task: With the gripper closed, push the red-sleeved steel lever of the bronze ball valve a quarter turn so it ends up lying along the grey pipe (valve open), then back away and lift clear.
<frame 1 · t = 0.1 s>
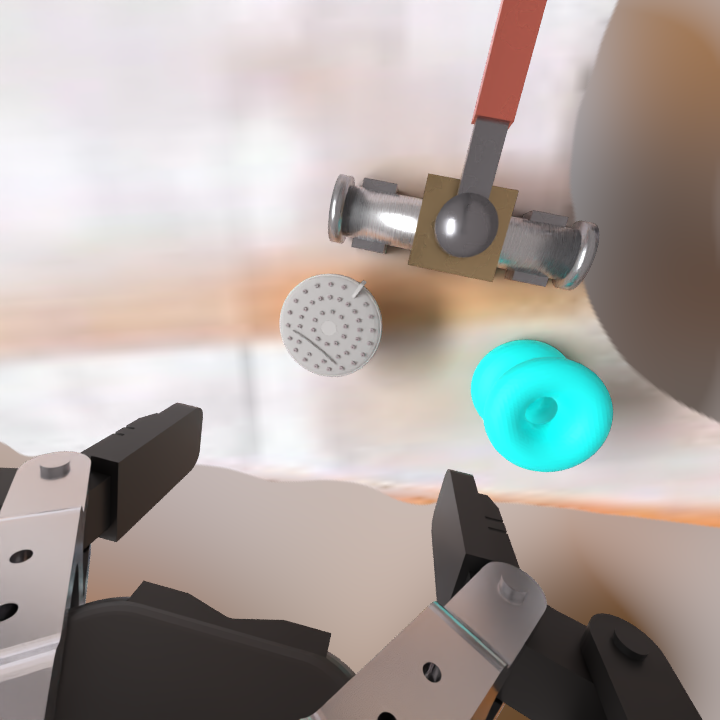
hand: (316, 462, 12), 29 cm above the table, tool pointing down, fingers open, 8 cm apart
donuts: (517, 383, 40), on the table
showerhead: (343, 315, 41), on the table
valve body: (451, 234, 37), on the table
lever: (489, 132, 27), point 9 cm above the table, hinge at 90.0°
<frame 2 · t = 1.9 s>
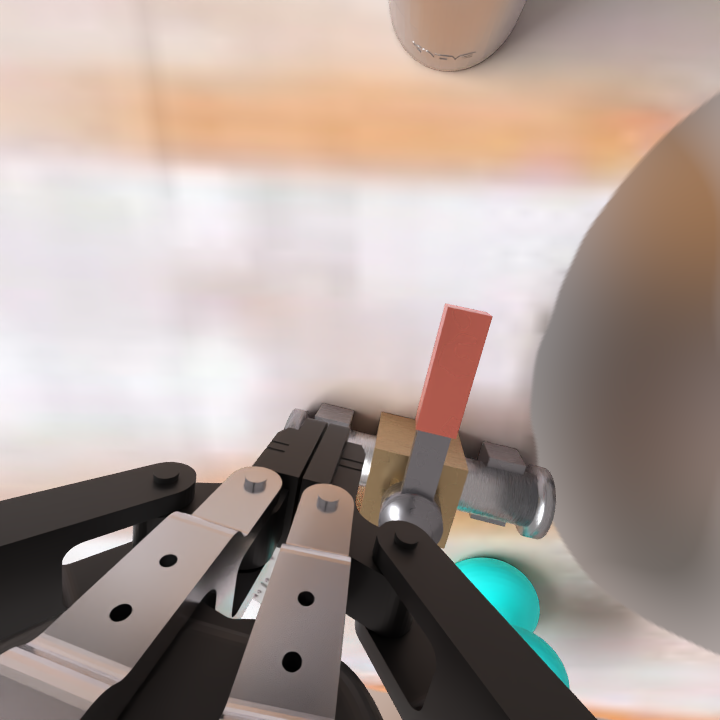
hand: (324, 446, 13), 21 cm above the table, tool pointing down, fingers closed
donuts: (481, 590, 39), on the table
showerhead: (302, 517, 39), on the table
valve body: (410, 454, 36), on the table
lever: (432, 436, 25), point 9 cm above the table, hinge at 90.0°
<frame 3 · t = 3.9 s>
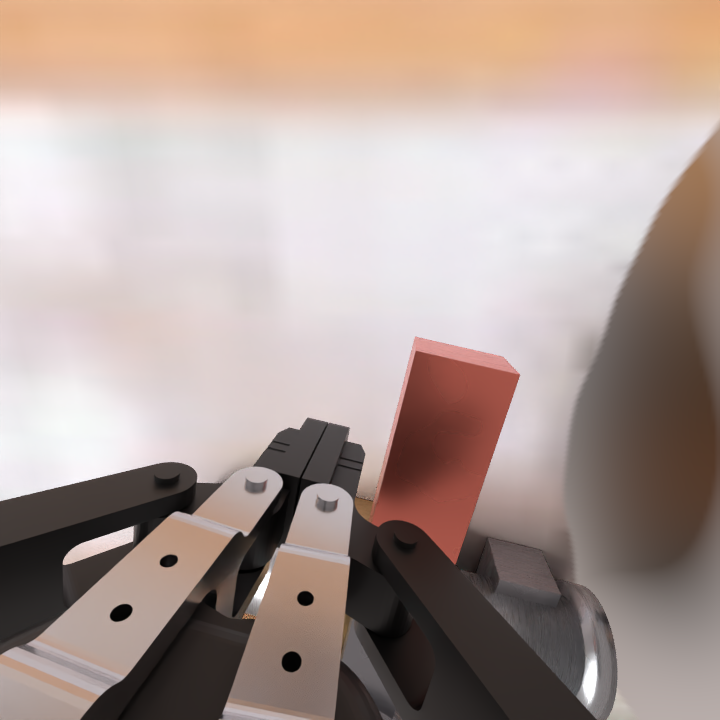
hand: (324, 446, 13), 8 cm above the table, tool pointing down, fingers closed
valve body: (374, 553, 23), on the table
lever: (391, 599, 13), point 9 cm above the table, hinge at 88.8°, touching gripper
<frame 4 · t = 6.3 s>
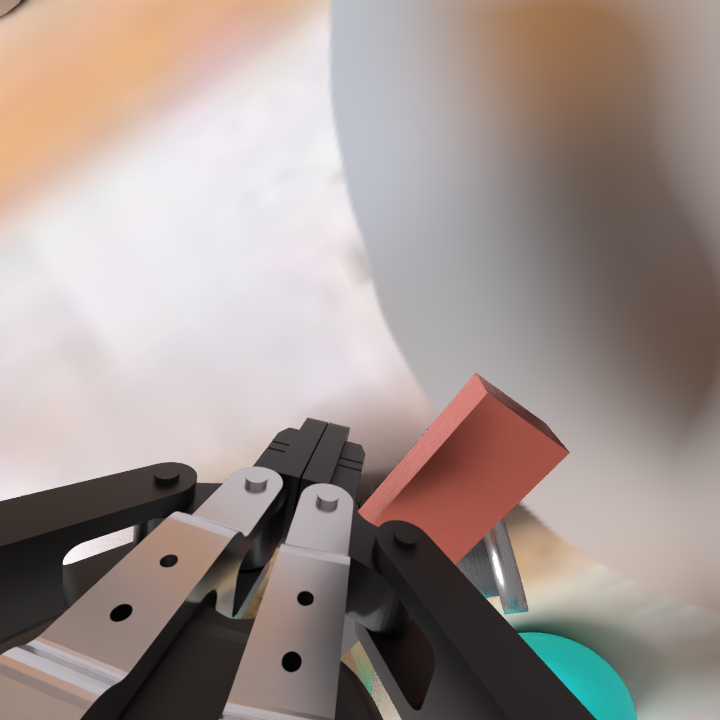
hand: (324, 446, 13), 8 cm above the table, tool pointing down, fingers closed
donuts: (532, 680, 24), on the table
valve body: (311, 536, 23), on the table
lever: (344, 598, 13), point 9 cm above the table, hinge at 37.5°, touching gripper
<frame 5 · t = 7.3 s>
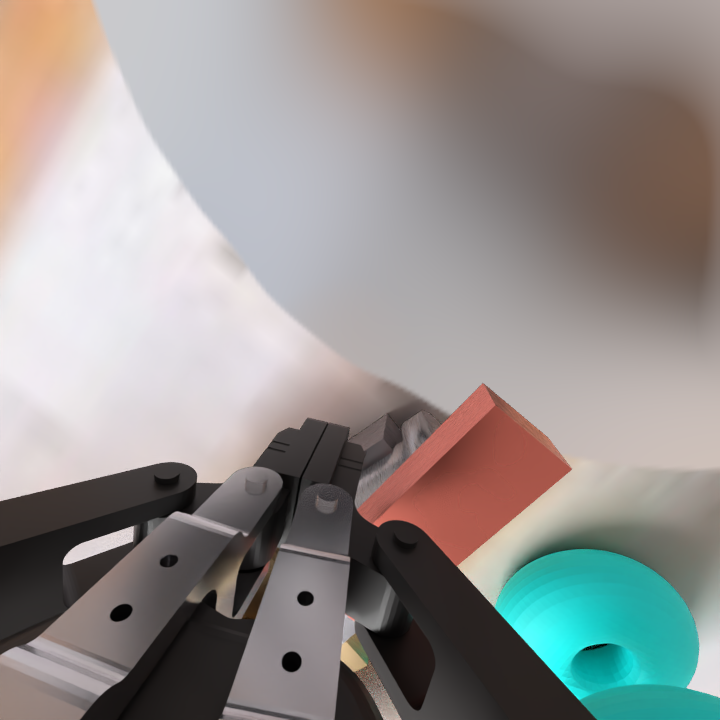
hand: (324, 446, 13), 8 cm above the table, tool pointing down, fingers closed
donuts: (576, 607, 22), on the table
valve body: (300, 531, 23), on the table
lever: (335, 597, 13), point 9 cm above the table, hinge at 12.2°, touching gripper
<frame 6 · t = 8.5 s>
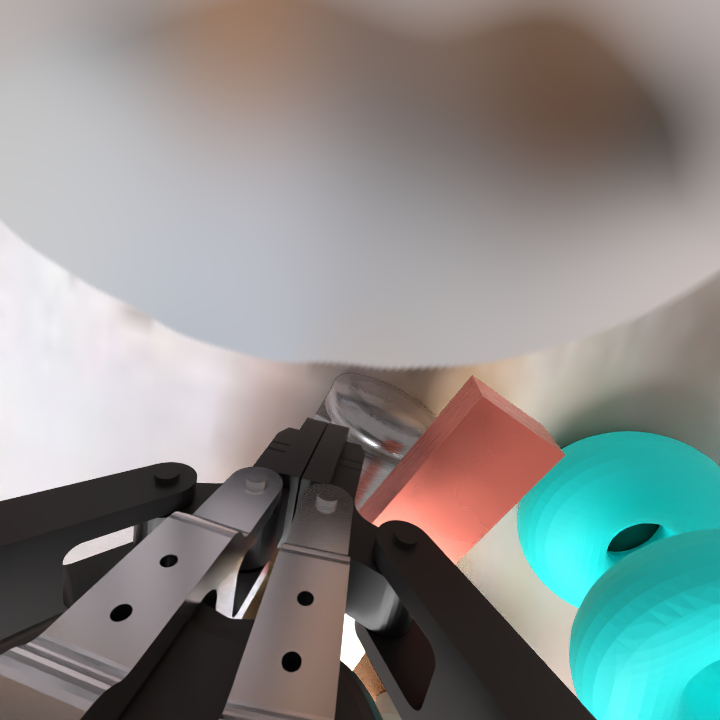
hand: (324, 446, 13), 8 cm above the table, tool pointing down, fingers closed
donuts: (607, 505, 21), on the table
showerhead: (389, 697, 26), on the table
valve body: (311, 537, 23), on the table
lever: (343, 599, 13), point 9 cm above the table, hinge at -8.3°, touching gripper
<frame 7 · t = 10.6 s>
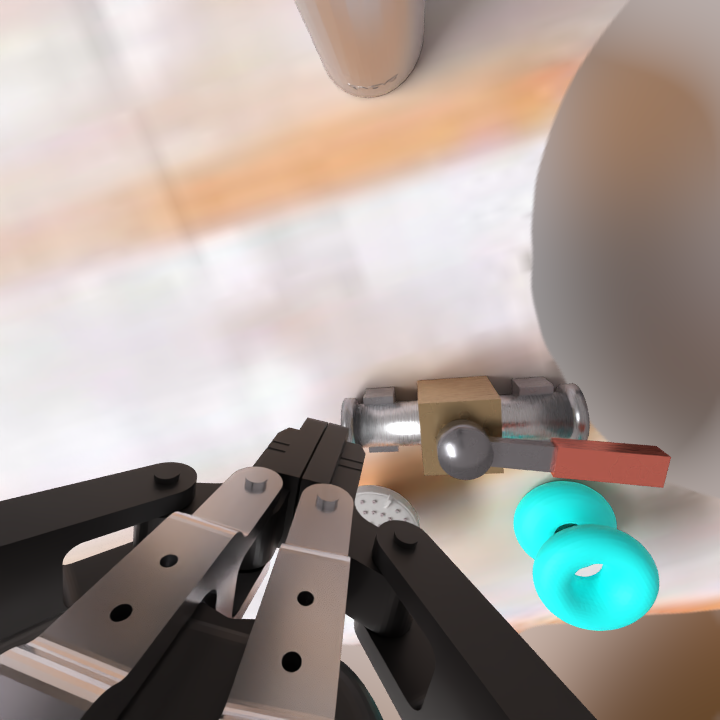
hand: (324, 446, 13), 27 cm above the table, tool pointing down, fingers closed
donuts: (557, 515, 42), on the table
showerhead: (379, 494, 44), on the table
valve body: (453, 409, 41), on the table
lever: (544, 456, 31), point 9 cm above the table, hinge at -8.3°
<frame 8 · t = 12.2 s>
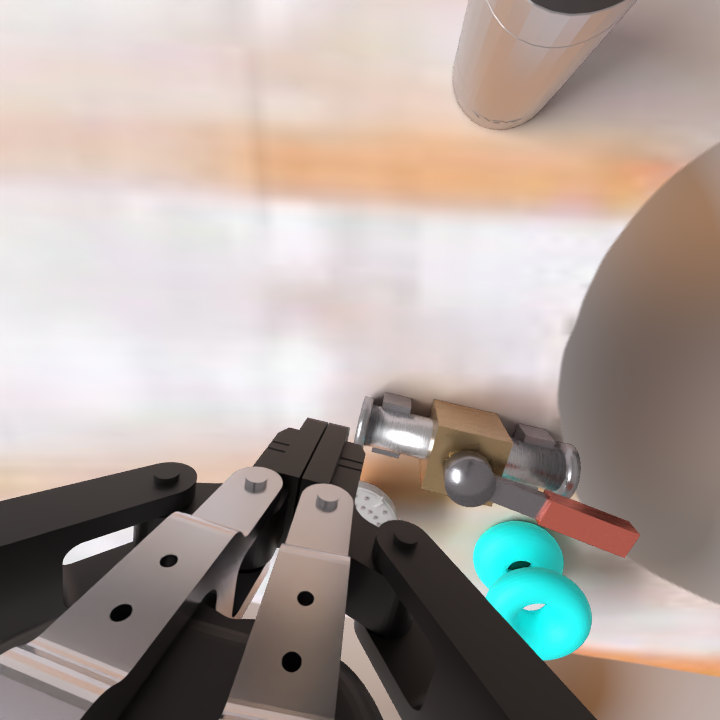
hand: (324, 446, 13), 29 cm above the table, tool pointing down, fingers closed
donuts: (513, 549, 46), on the table
showerhead: (362, 489, 47), on the table
valve body: (457, 434, 43), on the table
lever: (535, 504, 34), point 9 cm above the table, hinge at -8.3°
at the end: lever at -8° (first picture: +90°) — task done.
